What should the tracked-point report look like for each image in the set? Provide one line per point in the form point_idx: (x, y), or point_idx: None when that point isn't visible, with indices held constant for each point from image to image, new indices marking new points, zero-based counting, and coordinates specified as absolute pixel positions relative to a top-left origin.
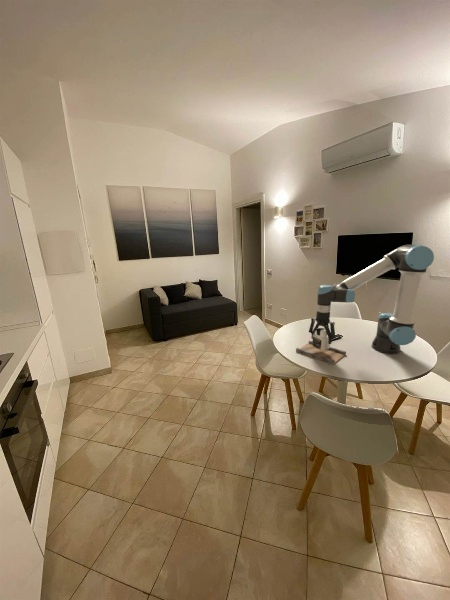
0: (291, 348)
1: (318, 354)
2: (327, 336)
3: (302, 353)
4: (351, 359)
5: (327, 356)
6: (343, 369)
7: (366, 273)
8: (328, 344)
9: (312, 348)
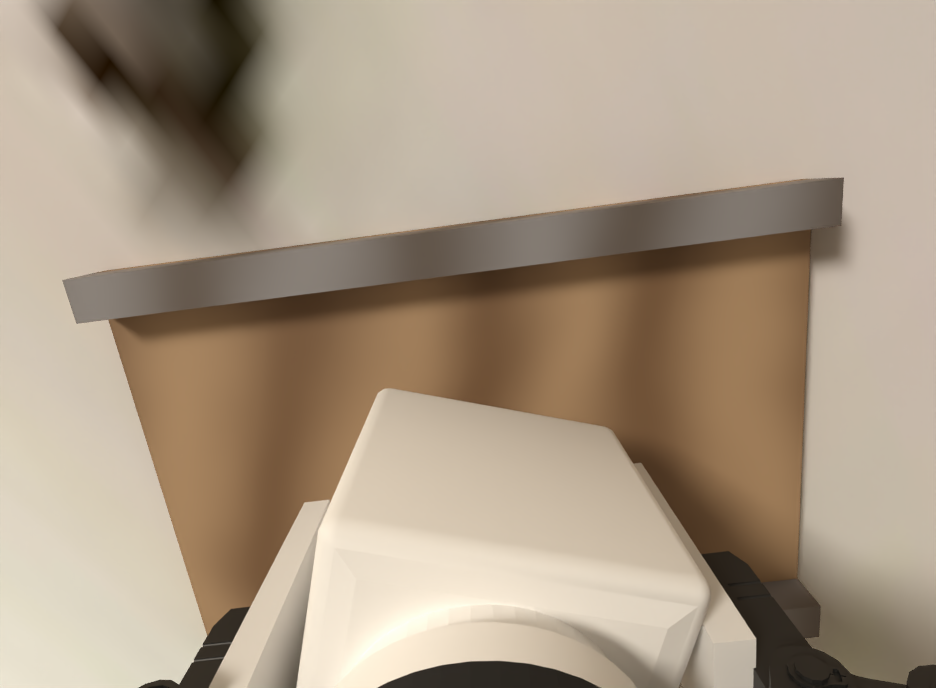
0: (113, 636)
1: None
2: (612, 588)
3: None
4: (931, 264)
5: None
6: (930, 599)
7: None
8: None
9: (308, 441)
